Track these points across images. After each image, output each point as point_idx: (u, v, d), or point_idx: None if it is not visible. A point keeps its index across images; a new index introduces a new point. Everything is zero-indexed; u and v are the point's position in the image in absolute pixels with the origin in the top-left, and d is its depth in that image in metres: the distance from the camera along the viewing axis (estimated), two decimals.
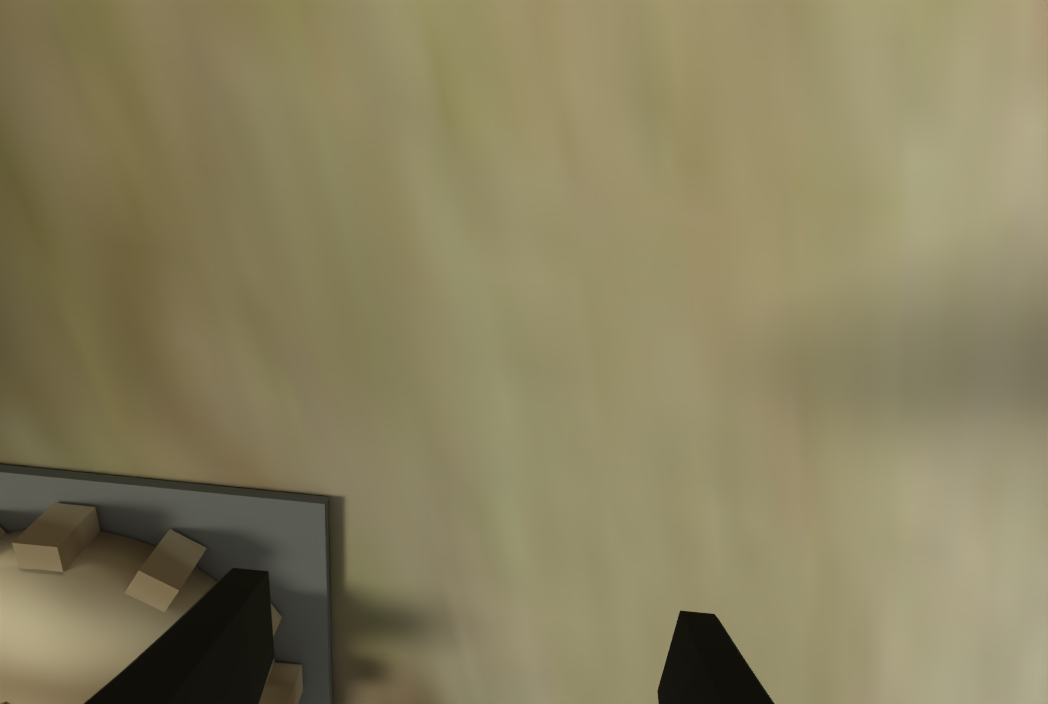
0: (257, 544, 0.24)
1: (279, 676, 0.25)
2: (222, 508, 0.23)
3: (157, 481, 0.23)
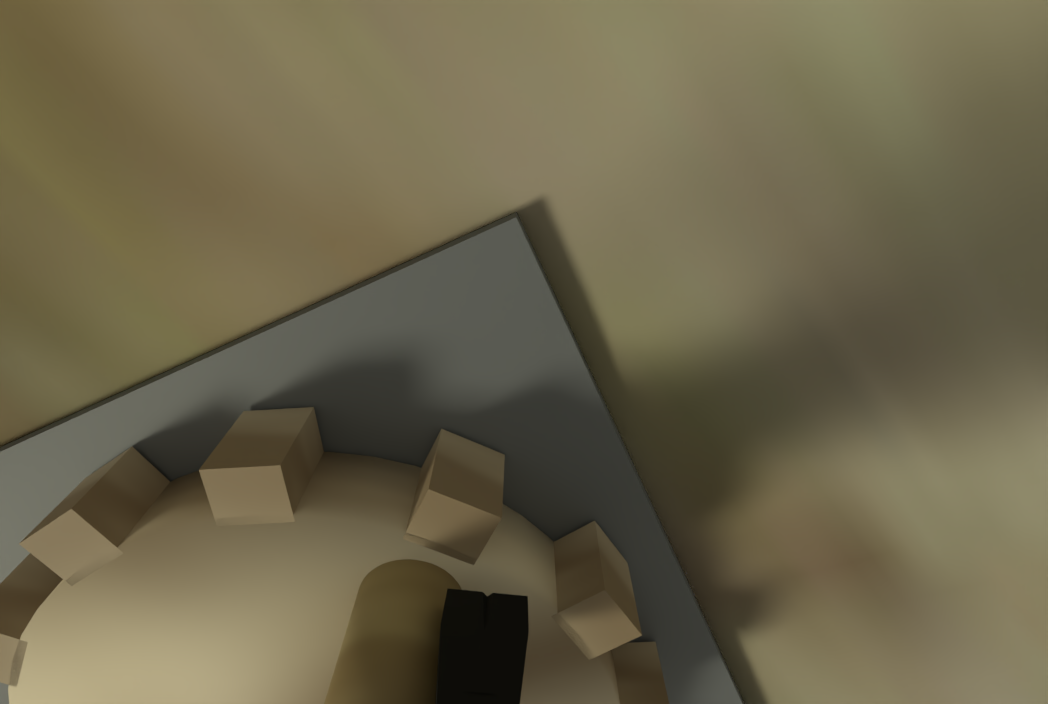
0: (448, 365, 0.13)
1: (570, 553, 0.14)
2: (360, 324, 0.13)
3: (245, 336, 0.13)
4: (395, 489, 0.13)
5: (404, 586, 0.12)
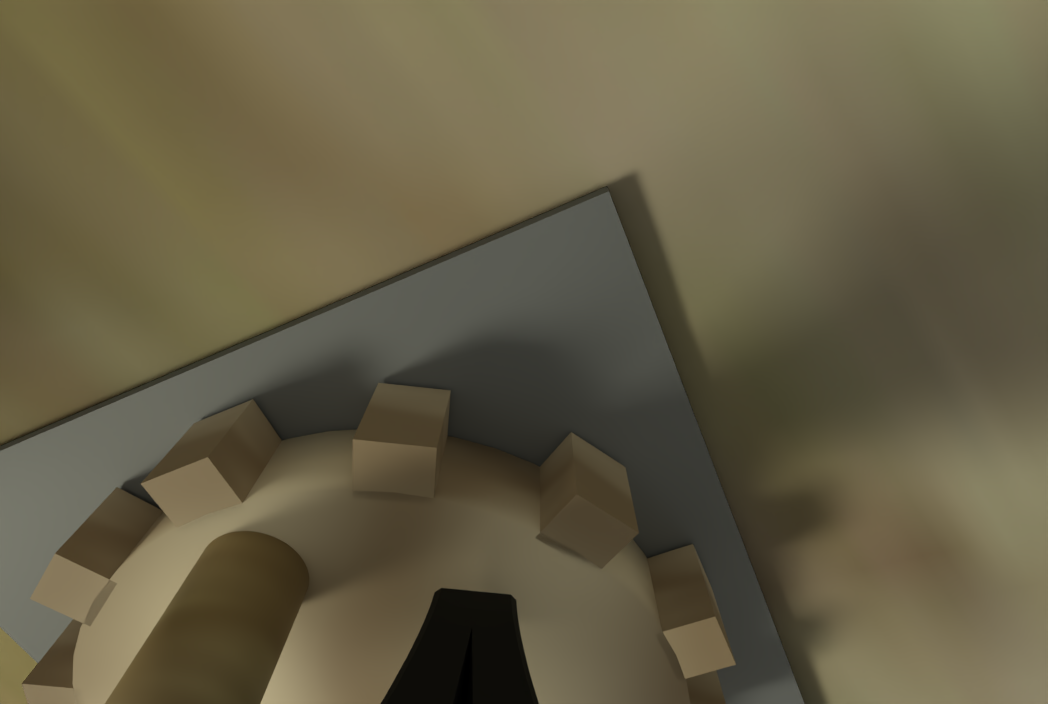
0: (527, 343, 0.13)
1: None
2: (441, 299, 0.12)
3: (321, 309, 0.13)
4: None
5: (191, 570, 0.12)
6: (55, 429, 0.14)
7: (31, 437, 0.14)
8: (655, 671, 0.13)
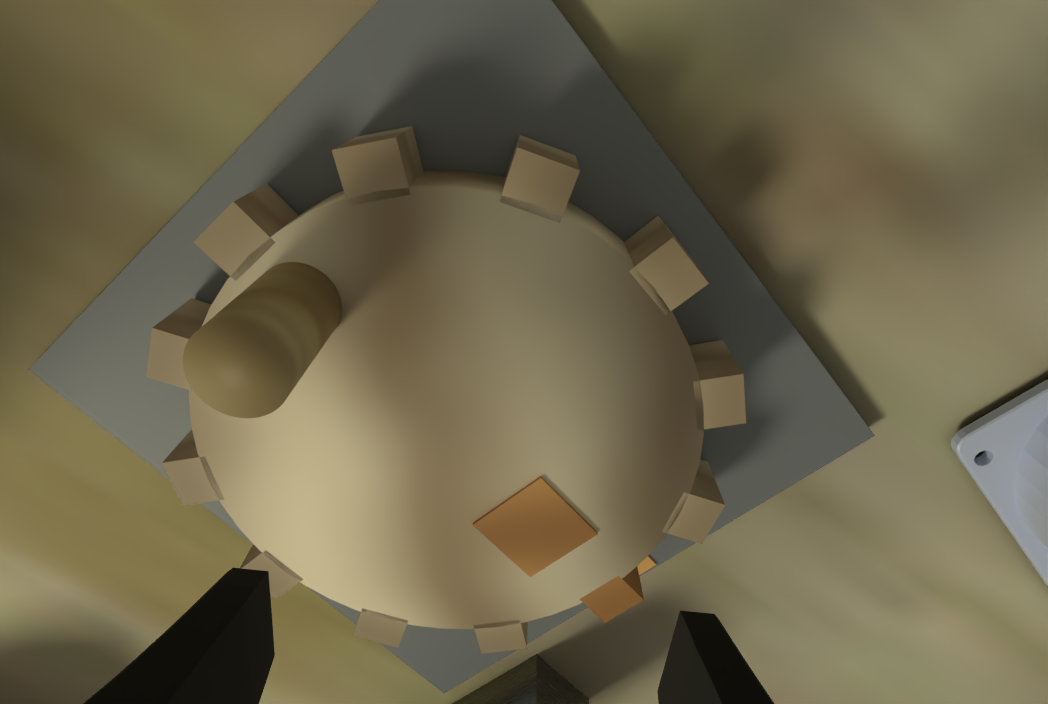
0: (459, 63, 0.15)
1: None
2: (380, 44, 0.15)
3: (296, 90, 0.16)
4: None
5: None
6: (135, 259, 0.17)
7: (120, 273, 0.18)
8: (643, 310, 0.15)
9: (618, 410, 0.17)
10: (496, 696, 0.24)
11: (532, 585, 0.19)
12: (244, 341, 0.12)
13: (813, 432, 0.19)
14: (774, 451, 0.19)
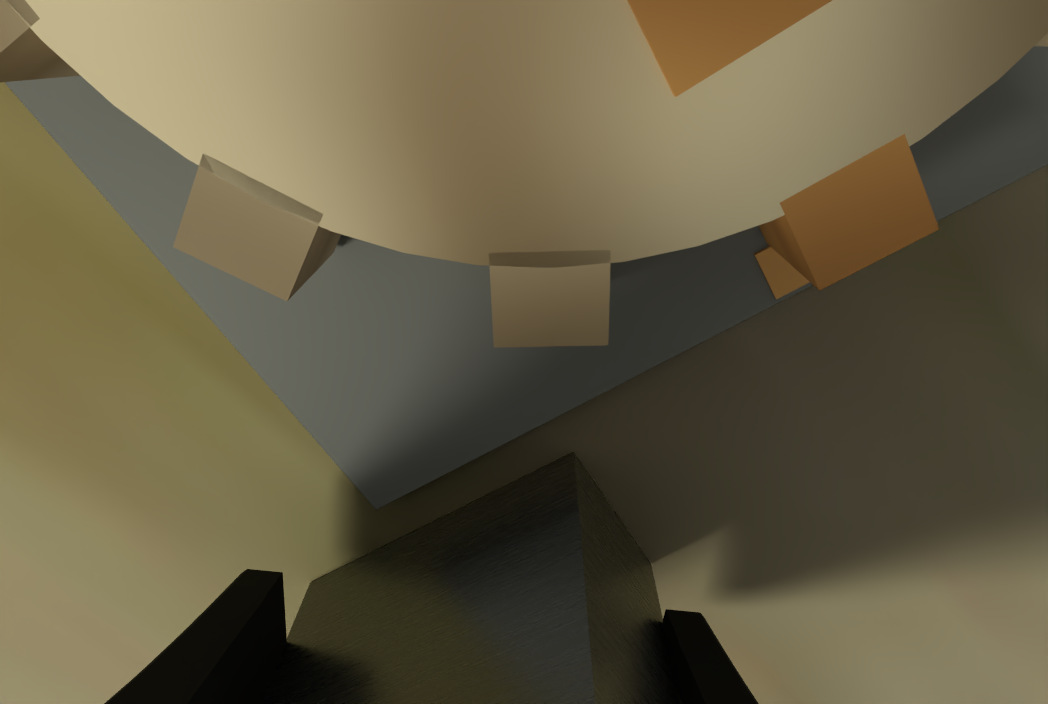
0: None
1: None
2: None
3: None
4: None
5: None
6: None
7: None
8: None
9: None
10: (483, 526, 0.11)
11: (669, 138, 0.07)
12: None
13: None
14: None
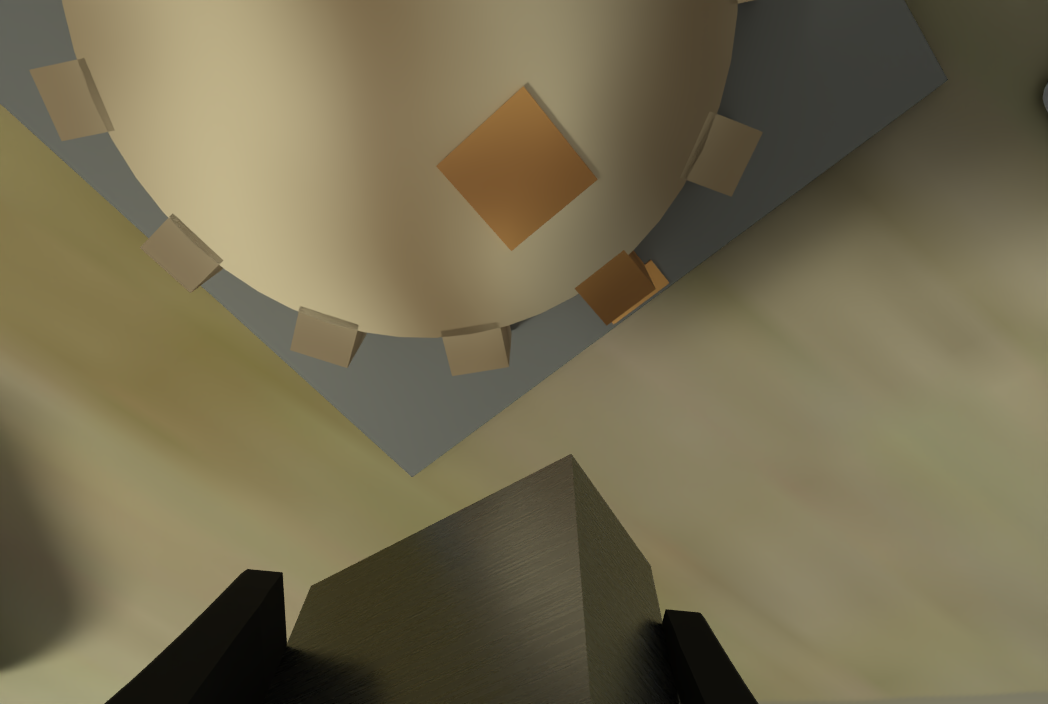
0: None
1: None
2: None
3: None
4: None
5: None
6: None
7: None
8: None
9: None
10: (481, 527, 0.12)
11: (514, 267, 0.15)
12: None
13: (870, 76, 0.15)
14: (820, 107, 0.15)
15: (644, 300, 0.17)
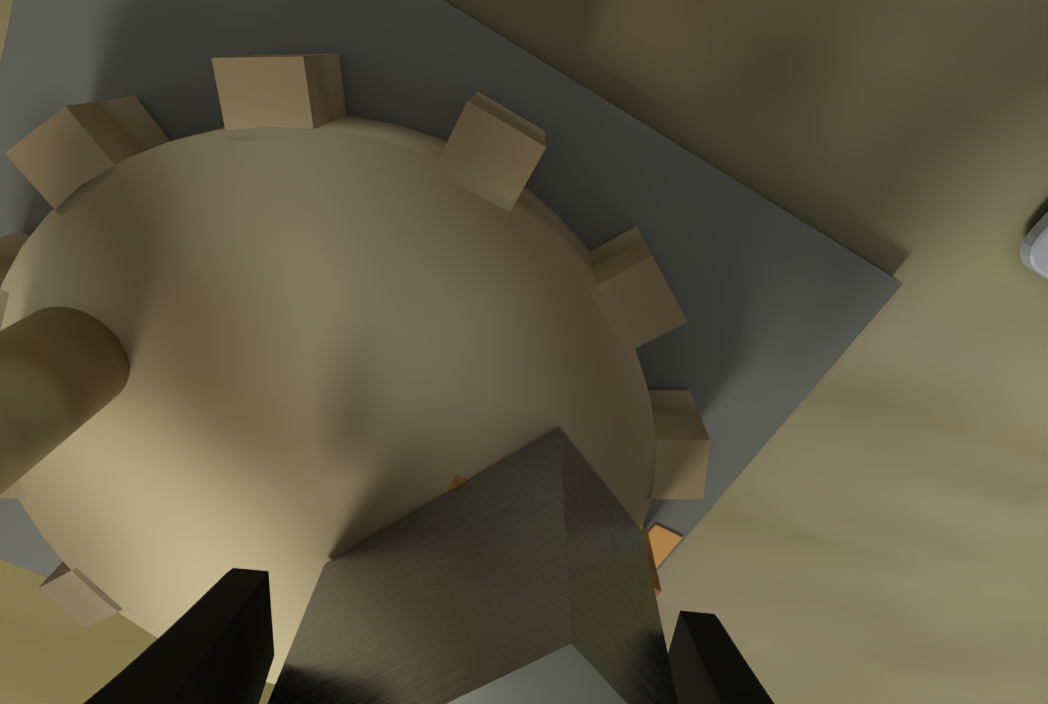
0: None
1: None
2: (52, 9, 0.12)
3: (2, 108, 0.13)
4: None
5: None
6: None
7: None
8: (478, 217, 0.11)
9: (511, 361, 0.12)
10: (478, 498, 0.12)
11: None
12: None
13: (814, 307, 0.14)
14: (772, 349, 0.14)
15: (663, 558, 0.17)
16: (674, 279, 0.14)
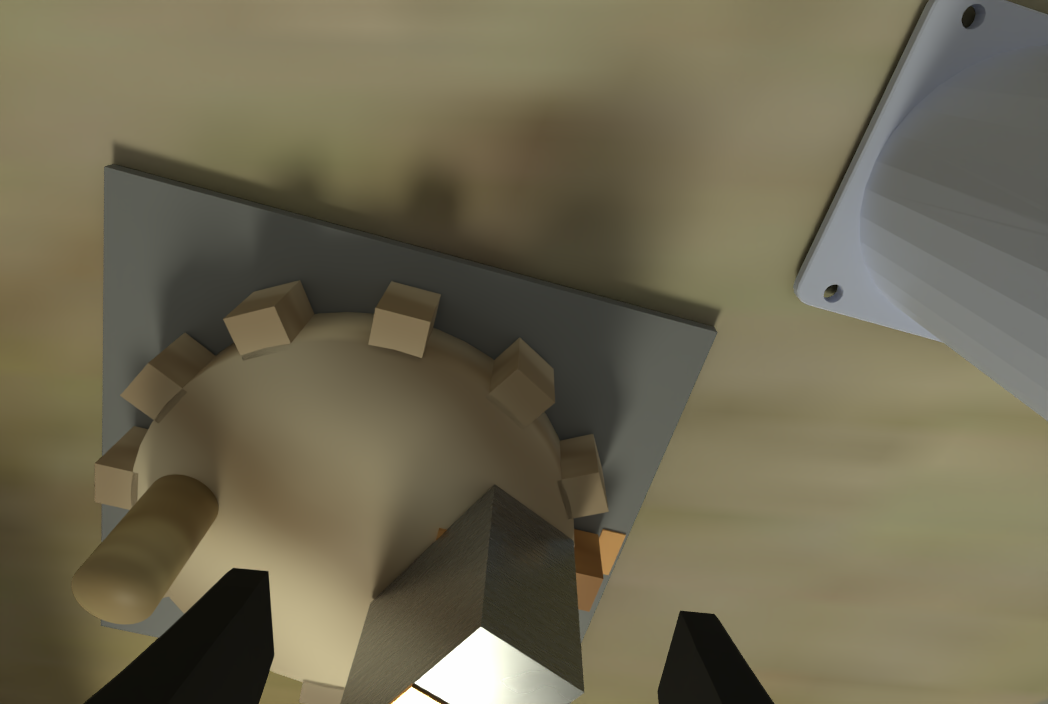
0: (179, 272, 0.19)
1: None
2: (126, 294, 0.19)
3: (108, 355, 0.20)
4: None
5: None
6: (102, 520, 0.22)
7: (102, 534, 0.23)
8: (402, 370, 0.17)
9: (451, 450, 0.18)
10: (450, 542, 0.19)
11: None
12: (100, 574, 0.16)
13: (661, 360, 0.19)
14: (642, 394, 0.20)
15: (617, 552, 0.22)
16: (557, 364, 0.20)
